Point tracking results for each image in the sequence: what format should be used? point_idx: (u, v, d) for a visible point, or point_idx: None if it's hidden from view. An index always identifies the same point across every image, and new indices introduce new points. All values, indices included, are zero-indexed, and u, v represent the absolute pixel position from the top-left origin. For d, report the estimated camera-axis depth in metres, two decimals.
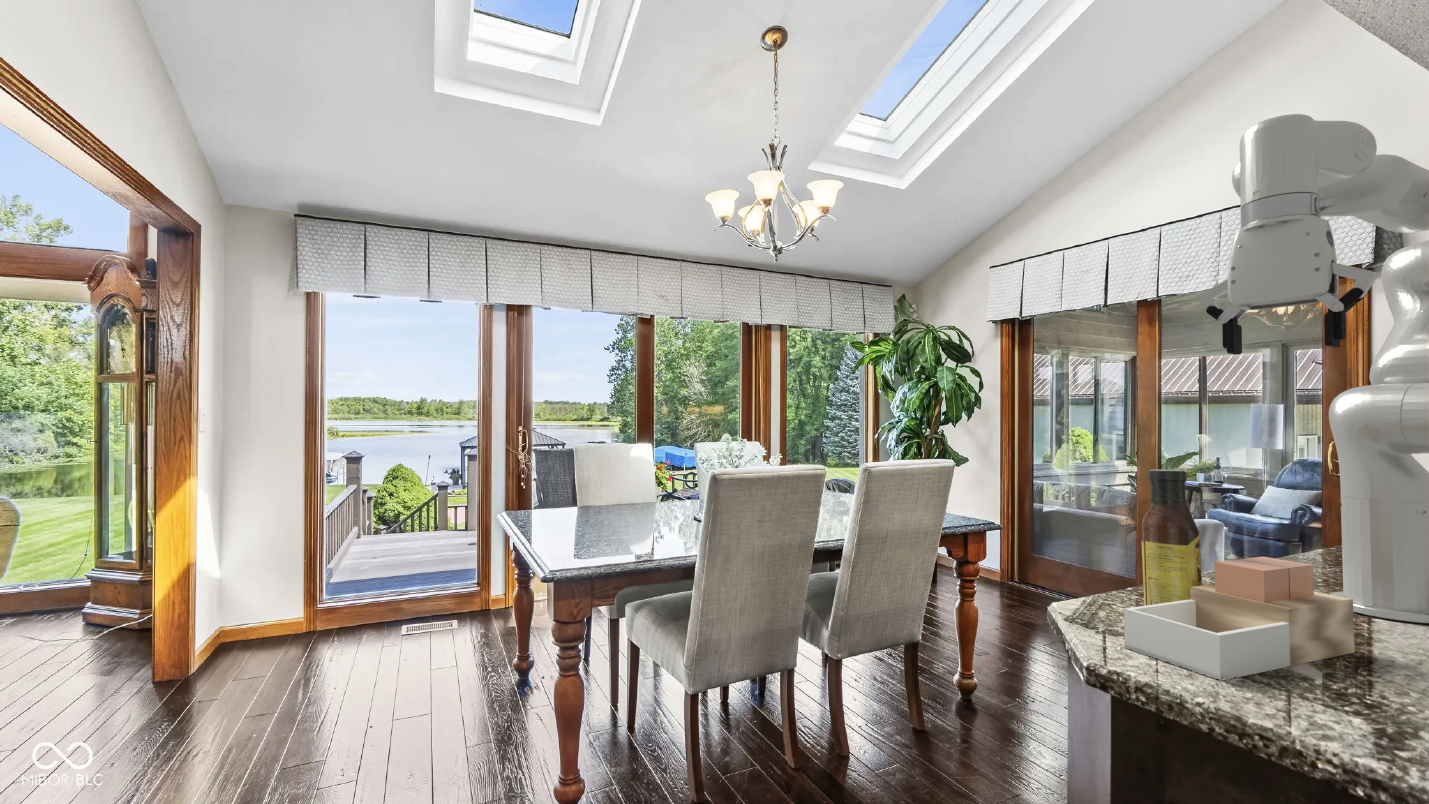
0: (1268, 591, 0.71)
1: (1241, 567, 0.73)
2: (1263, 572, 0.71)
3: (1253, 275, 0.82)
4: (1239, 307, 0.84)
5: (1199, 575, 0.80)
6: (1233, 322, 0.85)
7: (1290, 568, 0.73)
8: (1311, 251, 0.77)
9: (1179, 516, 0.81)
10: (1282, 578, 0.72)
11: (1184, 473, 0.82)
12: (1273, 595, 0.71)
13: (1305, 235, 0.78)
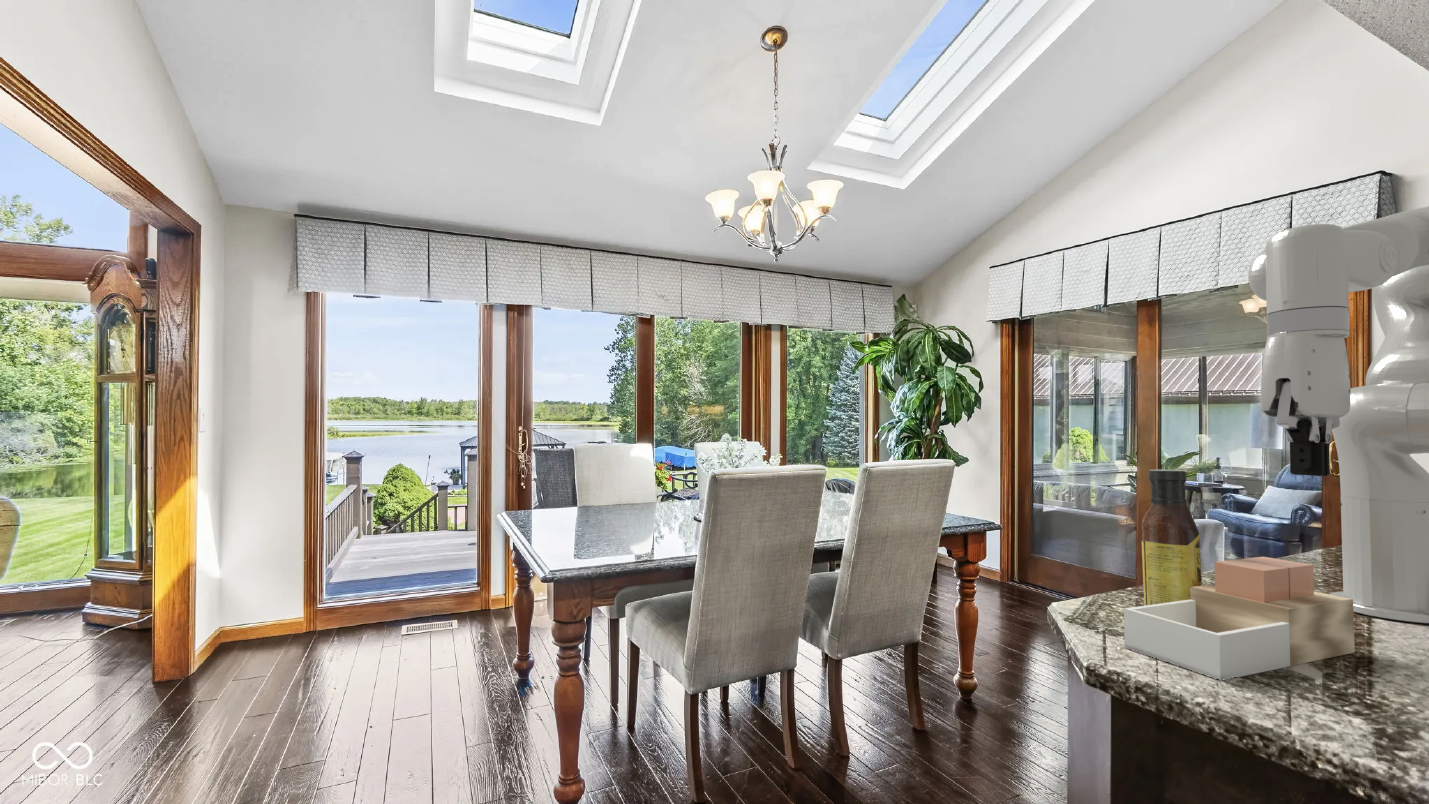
0: (1268, 591, 0.71)
1: (1241, 567, 0.73)
2: (1263, 572, 0.71)
3: (1319, 384, 0.76)
4: (1317, 419, 0.77)
5: (1199, 575, 0.80)
6: None
7: (1290, 568, 0.73)
8: (1347, 372, 0.78)
9: (1179, 516, 0.81)
10: (1282, 578, 0.72)
11: (1184, 473, 0.82)
12: (1273, 595, 0.71)
13: (1344, 354, 0.78)
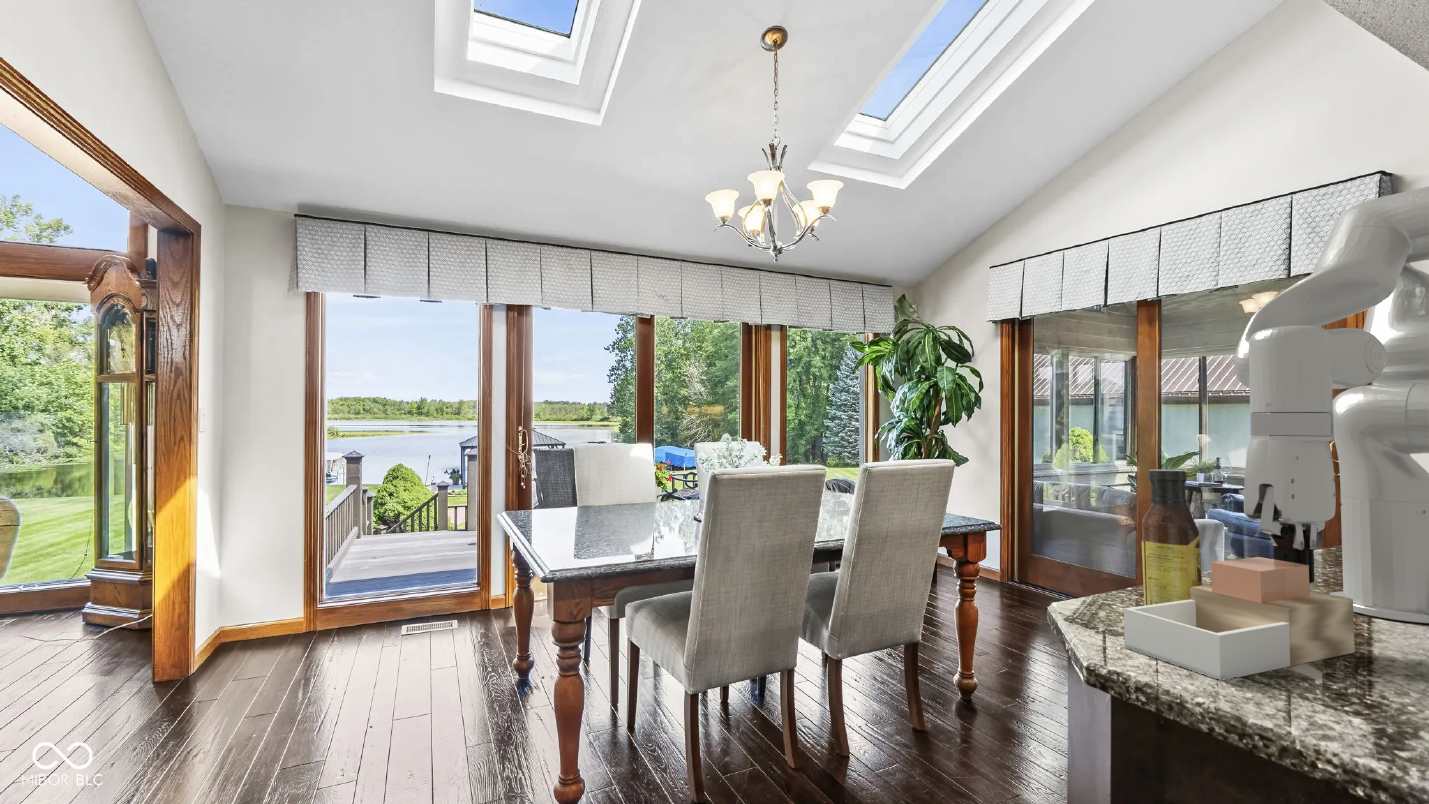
0: (1265, 591, 0.71)
1: (1238, 567, 0.73)
2: (1260, 572, 0.71)
3: (1303, 491, 0.74)
4: (1302, 526, 0.75)
5: (1199, 575, 0.80)
6: None
7: (1285, 568, 0.72)
8: (1332, 475, 0.77)
9: (1179, 516, 0.81)
10: (1278, 578, 0.72)
11: (1184, 473, 0.82)
12: (1269, 596, 0.71)
13: (1329, 457, 0.76)
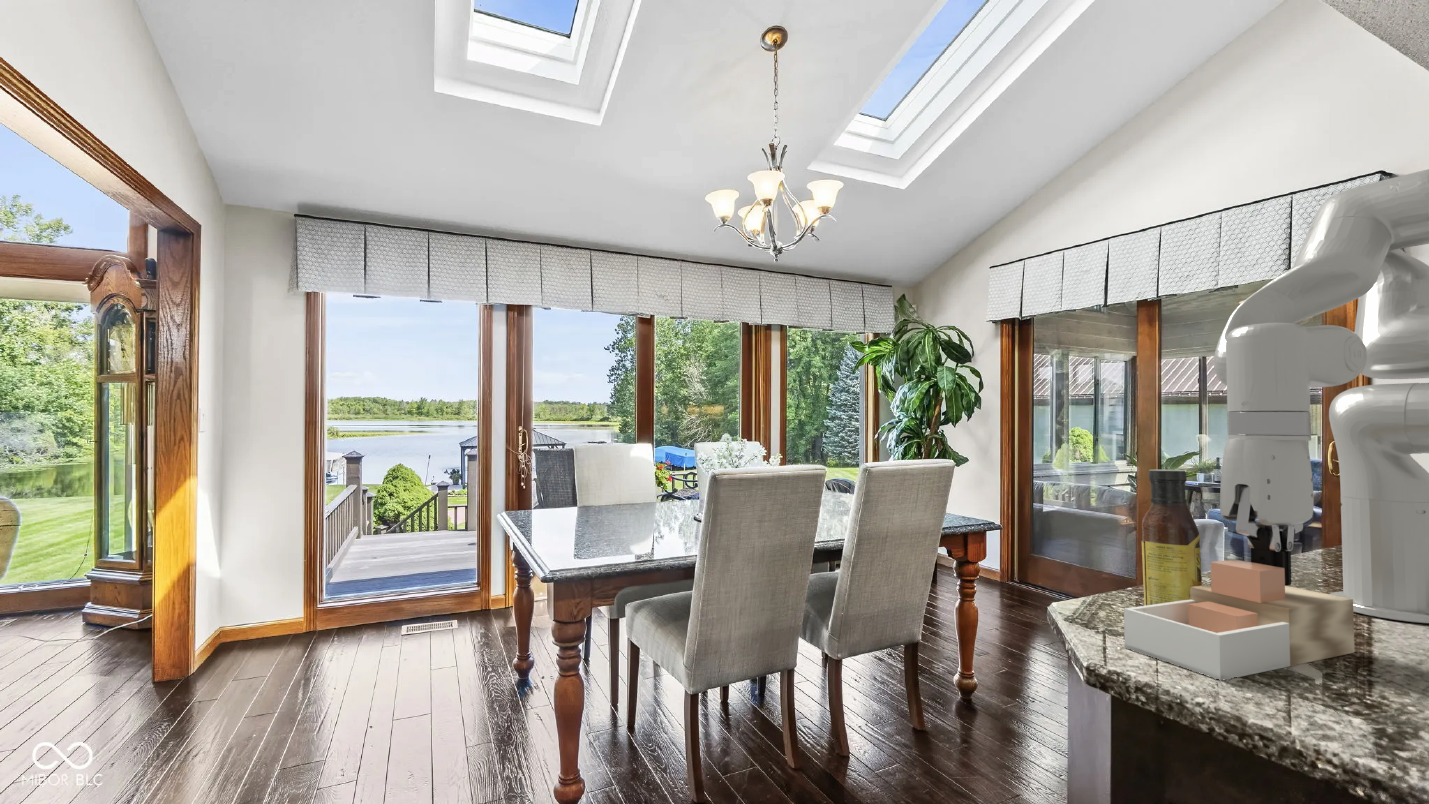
0: None
1: None
2: None
3: (1279, 492, 0.73)
4: (1278, 527, 0.74)
5: (1199, 575, 0.80)
6: None
7: (1260, 571, 0.71)
8: (1309, 475, 0.75)
9: (1179, 516, 0.81)
10: (1243, 626, 0.69)
11: (1184, 473, 0.82)
12: None
13: (1307, 457, 0.75)
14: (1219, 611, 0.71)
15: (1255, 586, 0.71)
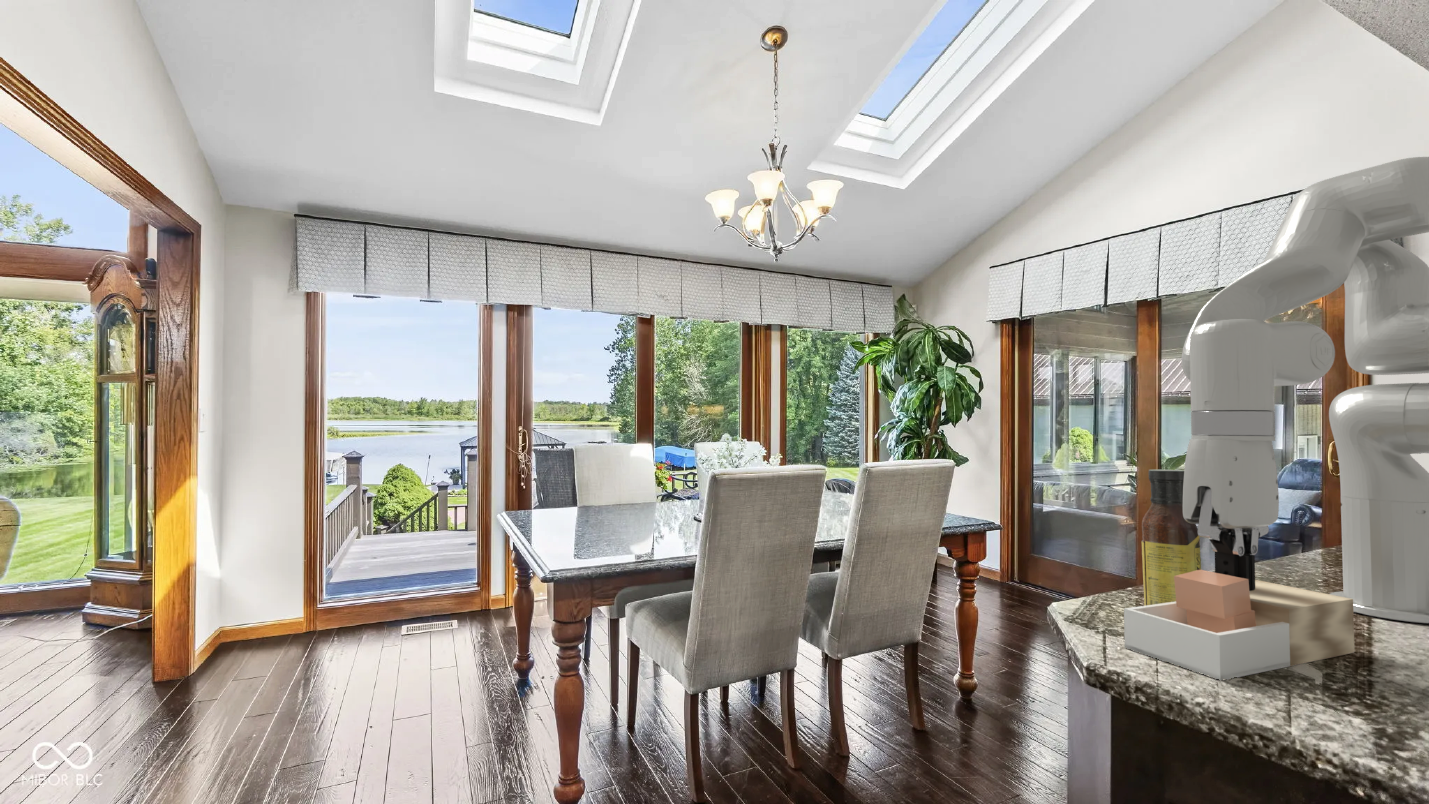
0: None
1: None
2: None
3: (1242, 494, 0.70)
4: (1242, 531, 0.71)
5: None
6: None
7: (1223, 586, 0.69)
8: (1274, 477, 0.73)
9: (1179, 516, 0.81)
10: (1241, 625, 0.69)
11: None
12: None
13: (1271, 458, 0.72)
14: None
15: (1218, 601, 0.69)
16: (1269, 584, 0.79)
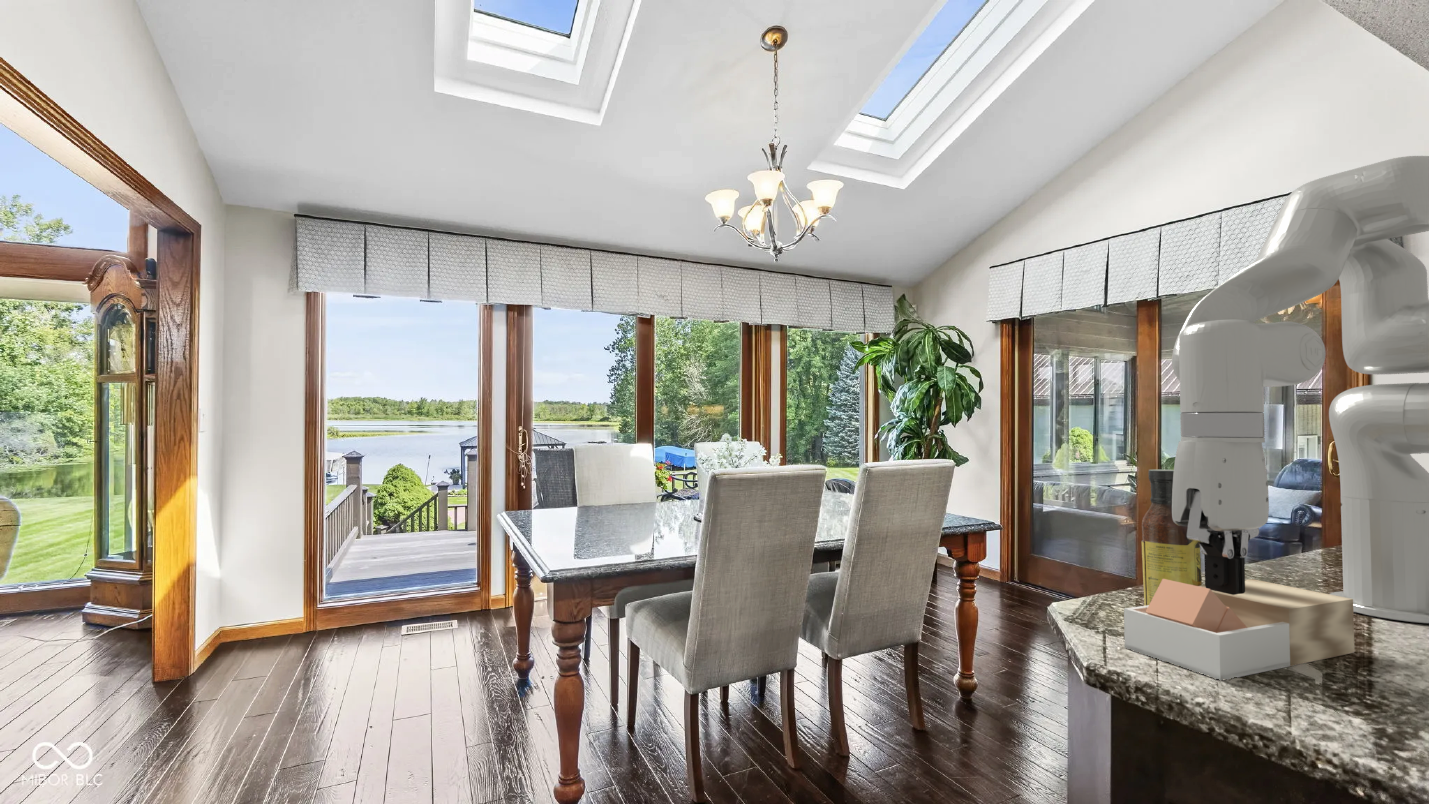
0: None
1: None
2: None
3: (1232, 496, 0.70)
4: (1231, 533, 0.71)
5: (1199, 575, 0.80)
6: None
7: (1193, 623, 0.67)
8: (1264, 479, 0.72)
9: None
10: None
11: None
12: (1240, 627, 0.69)
13: (1261, 460, 0.72)
14: None
15: None
16: (1269, 584, 0.79)
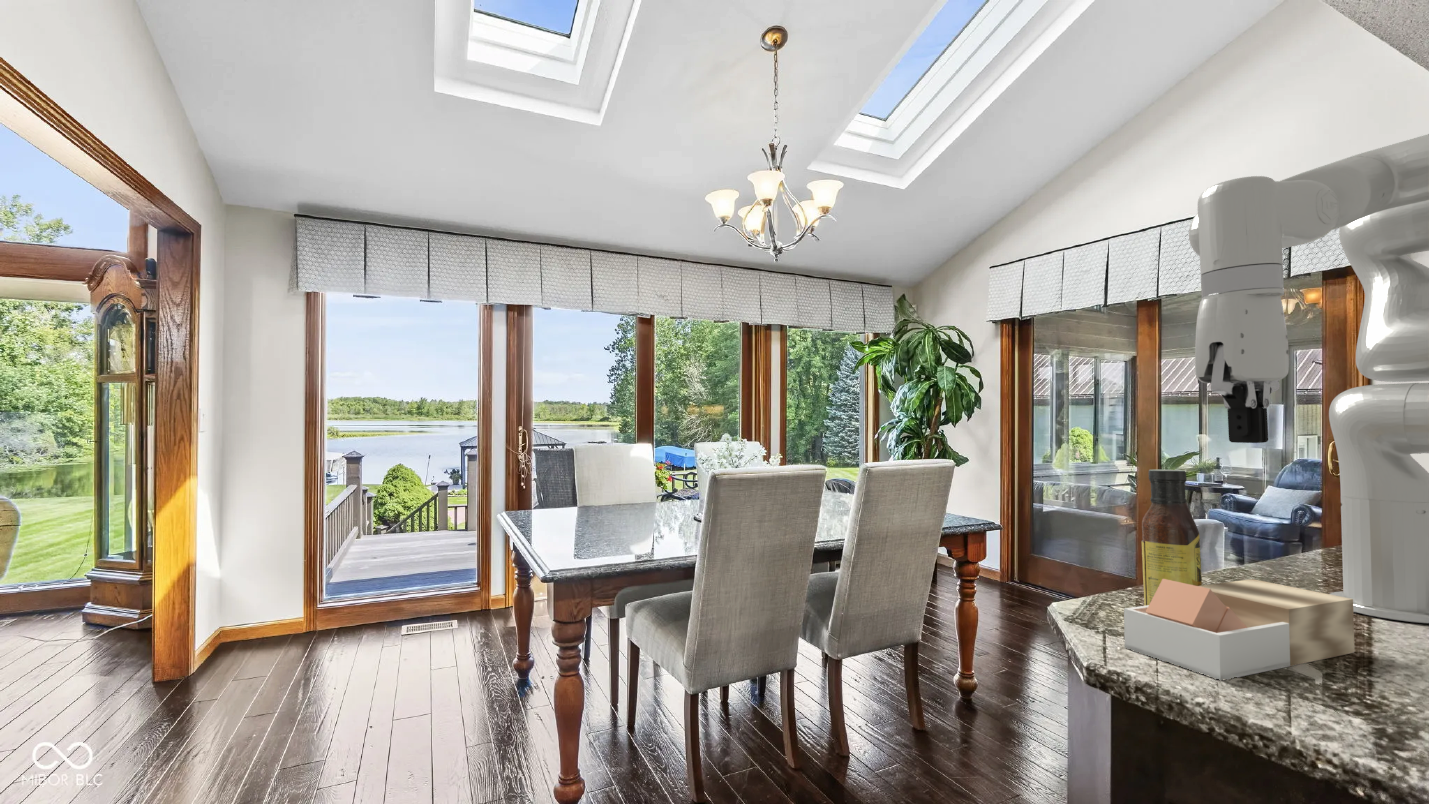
0: None
1: None
2: None
3: (1254, 346, 0.72)
4: (1254, 384, 0.73)
5: (1199, 575, 0.80)
6: None
7: (1193, 623, 0.67)
8: (1284, 332, 0.74)
9: (1179, 516, 0.81)
10: None
11: (1184, 473, 0.82)
12: (1240, 627, 0.69)
13: (1281, 313, 0.74)
14: None
15: None
16: (1269, 584, 0.79)
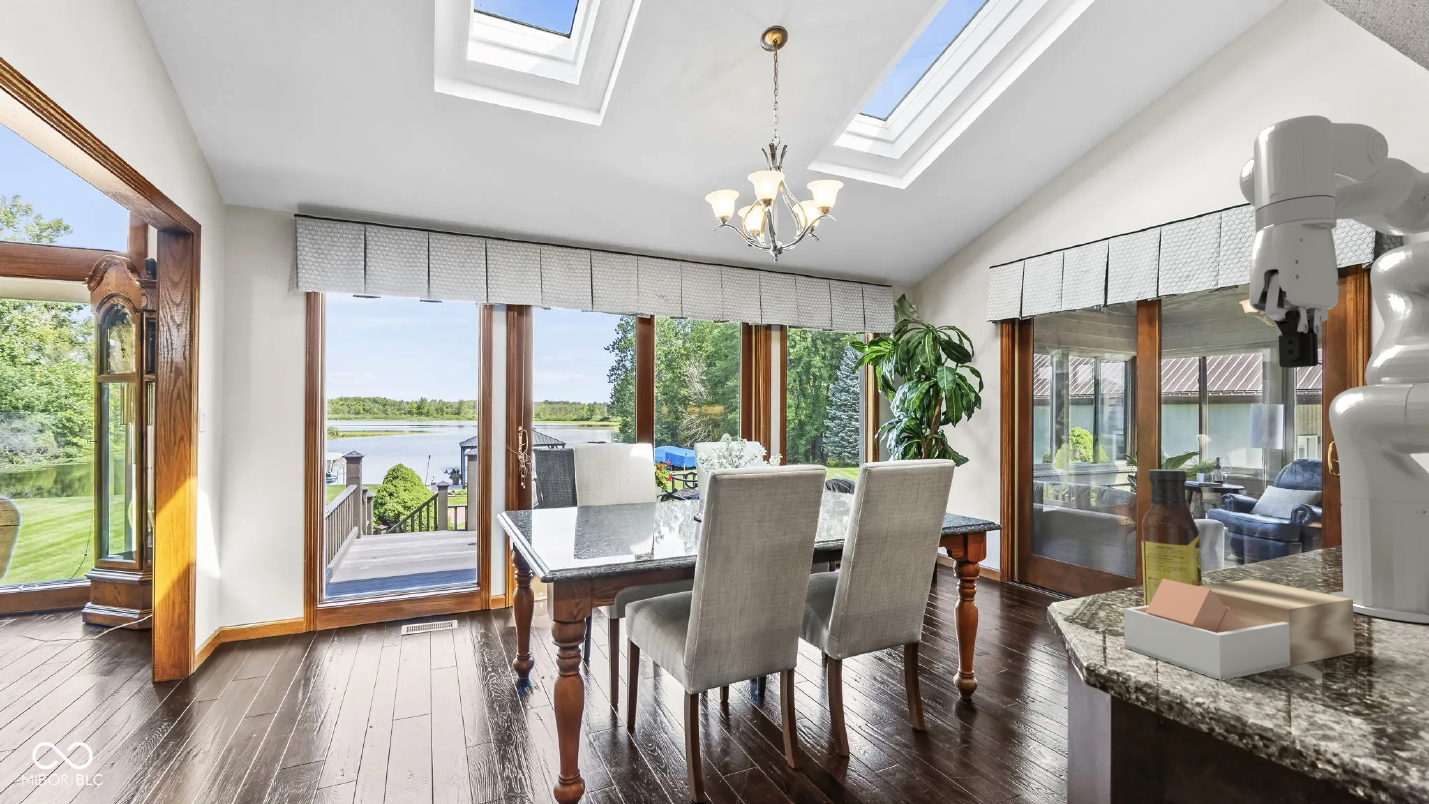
0: None
1: None
2: None
3: (1307, 273, 0.77)
4: (1306, 310, 0.78)
5: (1199, 575, 0.80)
6: (1302, 333, 0.79)
7: (1193, 623, 0.67)
8: (1335, 263, 0.79)
9: (1179, 516, 0.81)
10: None
11: (1184, 473, 0.82)
12: (1240, 627, 0.69)
13: (1332, 246, 0.79)
14: None
15: None
16: (1269, 584, 0.79)
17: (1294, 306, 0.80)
